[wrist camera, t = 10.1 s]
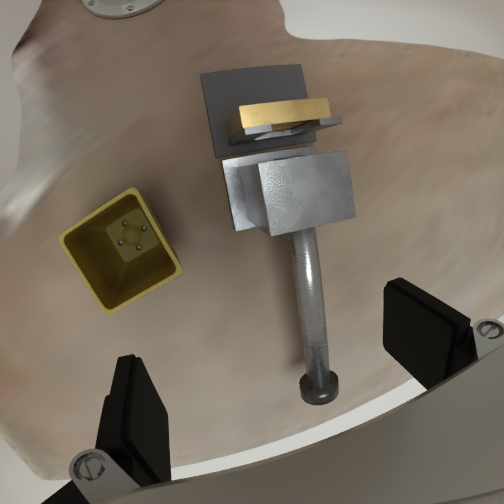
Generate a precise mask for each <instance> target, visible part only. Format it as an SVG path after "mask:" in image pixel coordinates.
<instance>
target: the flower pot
mask: <svg viewBox="0 0 504 504" xmlns="http://www.w3.org/2000/svg"><path fill="white" fill-rule="evenodd" d="M123 221H127V225H126V226H124V225H123ZM142 226H146V230H145V231H143V230H142ZM58 239H59V242H60V244H61V246H62V248H63V249H64V251H65V253H66V254H67V256H68V257H69V259H70V260H71V262H72V264H73V265H74V267H75V268H76V270H77V271H78V273H79V274H80V276H81V277H82V279H83V281H84V282H85V284H86V285H87V287H88V289H89V290H90V292H91V294H92V295H93V297H94V298H95V300H96V301H97V303H98V304H99V306H100V307H101V309H102V310H103V311H104V312H105V313H106V314H107V315H111V314H113V313H115V312H117V311H118V310H120V309H122V308H123V307H125V306H127V305H128V304H130V303H132V302H133V301H135V300H137V299H139V298H141V297H142V296H144V295H146V294H148V293H149V292H151V291H153V290H155V289H156V288H158V287H160V286H162V285H164V284H165V283H167V282H169V281H171V280H173V279H174V278H176V277H178V276H179V275H181V274H182V272H183V269H182V266H181V263H180V261H179V258H178V256H177V254H176V252H175V250H174V248H173V247H172V245H171V243H170V242H169V240H168V239H167V237H166V235H165V233H164V232H163V230H162V228H161V226H160V225H159V223H158V221H157V219H156V217H155V216H154V214H153V212H152V210H151V208H150V206H149V205H148V203H147V201H146V199H145V197H144V195H143V194H142V192H140V191H139V190H138V189H136V188H134V187H132V188H129V189H127V190H126V191H124V192H123V193H121V194H119V195H118V196H116V197H115V198H113V199H112V200H110V201H109V202H107V203H106V204H104V205H103V206H101V207H100V208H98V209H97V210H95V211H94V212H92V213H91V214H89V215H88V216H86V217H85V218H83V219H82V220H80V221H79V222H77V223H76V224H74V225H73V226H71V227H70V228H68V229H67V230H65V231H64V232H63V233H62V234H61V235H60V236H59V238H58ZM119 240H122V241H123V244H122V245H120V244H119V243H118V242H119ZM138 245H141V247H142V248H141V249H140V250H138V249H137V246H138Z"/></svg>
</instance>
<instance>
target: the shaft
mask: <svg viewBox="0 0 504 504" xmlns="http://www.w3.org/2000/svg"><path fill="white" fill-rule="evenodd" d="M301 156H304V155H300V156H293V157H287V158H280V159H274V160H275V161H276V160H282V159H288V158H295V157H301ZM287 236H288V243H289V249H290V256H291V262H292V269H293V276H294V283H295V289H296V297H297V304H298V311H299V318H300V326H301V333H302V341H303V349H304V357H305V365H306V374H304V375H303V376H302V377H301V379H300V382H299V384H300V392H301V397H302V399H303V400H304V401H305V402H306V403H308V404H311V405H324V404H327V403H330V402H331V401H333V400H334V399H335V398H336V397H337V395H338V393H339V386H338V376H337V375H336V373H334V372H333V371H331V370H330V369H329V355H328V342H327V329H326V318H325V308H324V298H323V288H322V279H321V270H320V262H319V253H318V245H317V238H316V230H315V227H311V228H307V229H302V230H298V231H293V232H289V233H287Z"/></svg>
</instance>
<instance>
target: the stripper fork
mask: <svg viewBox="0 0 504 504" xmlns="http://www.w3.org/2000/svg"><path fill="white" fill-rule="evenodd" d="M338 124H342V118H341V117H332V118H320V119H317V120H314V121H311V122H309V123H306V124H304V125H301V126H298V127H296V128H293V129H289V130H281V131H274V132H271V131H272V128H271V124H266V125H259V126H252V127H246V128H244V129H242V130H241V131H240V132H238V133H237V134H236V135H235V136H233V137H232V138H231V139H230V140H228V144H229V146H232V145H238V144H243V143H249V142H256V141H262V140H268V139H275V138H282V137H290V136H298V135H304V134H307V133H310V132H314V131H317V130H321V129H324V128H328V127H331V126H335V125H338Z"/></svg>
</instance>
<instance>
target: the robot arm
mask: <svg viewBox="0 0 504 504" xmlns="http://www.w3.org/2000/svg"><path fill="white" fill-rule="evenodd" d="M162 1H163V0H82V2H83V4H84V5H85V7H86V8H87V10H89V11H90V12H91V13H92V14H94V15H97V16H99V17H103V18H112V19H116V18H126V17H130V16H134V15H137V14H140V13H143V12H145V11H147V10H149V9H151V8H153V7H155V6H156V5H158V4H159V3H161V2H162ZM470 321H471V319H470V318H468V317H467V316H465V315H463V314H462V313H460V312H458V311H457V310H455V309H454V308H452V307H450V306H449V305H447V304H445V303H444V302H442V301H440V300H439V299H437V298H435V297H434V296H432V295H430V294H429V293H427V292H425V291H424V290H422V289H420V288H419V287H417V286H415V285H413V284H412V283H410V282H408V281H407V280H405V279H403V278H401V277H400V278H397V279H394V280H391V281H388V282H387V284H386V286H385V287H384V312H383V346H384V348H385V350H386V351H387V352H388V353H389V354H390V355H391V356H392V357H393V358H394V359H395V360H397V361H398V362H399V363H400V364H401V365H402V366H403V367H404V368H405V369H406V370H407V371H408V372H409V373H410V374H411V375H412V376H413V377H414V378H415V379H416V380H418V382H419V383H420V384H422V385H423V386H424V387H425V388H426V389H427V391H425V392H424V393H422V394H420V395H419V396H416V397H415V398H413V399H411V400H409V401H407V402H405V403H403V404H401V405H400V406H398V407H396V408H394V409H392V410H390V411H388V412H386V413H384V414H382V415H379V416H378V417H375V418H373V419H371V420H369V421H367V422H364V423H362V424H360V425H358V426H355V427H353V428H351V429H349V430H346V431H344V432H341V433H339V434H337V435H334V436H332V437H329V438H327V439H324V440H321V441H319V442H316V443H313V444H310V445H308V446H305V447H302V448H299V449H296V450H293V451H290V452H287V453H284V454H281V455H278V456H275V457H271V458H268V459H264V460H261V461H257V462H254V463H250V464H246V465H242V466H238V467H234V468H230V469H226V470H222V471H218V472H213V473H209V474H204V475H199V476H194V477H189V478H183V479H178V480H173V481H172V480H171V466H170V449H169V425H168V414H167V411H166V409H165V407H164V405H163V403H162V401H161V399H160V397H159V395H158V393H157V391H156V389H155V387H154V385H153V383H152V381H151V378H150V376H149V374H148V372H147V370H146V368H145V366H144V363H143V361H142V359H141V358H140V357H137V358H136V356H135V355H134V354H131V355H126V356H122V357H118V360H117V364H116V368H115V373H114V377H113V382H112V386H111V391H110V395H107V396H106V397H105V400H104V404H103V409H102V414H101V419H100V424H99V429H98V434H97V440H96V446H95V449H88V450H84V451H82V452H80V453H79V454H77V455H76V456H75V457H74V458H73V460H72V461H71V463H70V466H69V475H70V477H71V479H72V480H71V481H70V482H68V483H67V484H66V485H65V486H63V487H62V488H61V489H59V490H58V491H57V492H56V493H54V494H53V495H52V496H50V497H49V498H48V499H46V500H45V501H44V502H42V503H41V504H504V324H503V323H502V322H500V321H498V320H495V319H482V320H479V321H477V322H476V323H475V324H474V326H473V327H471V326H470Z"/></svg>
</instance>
